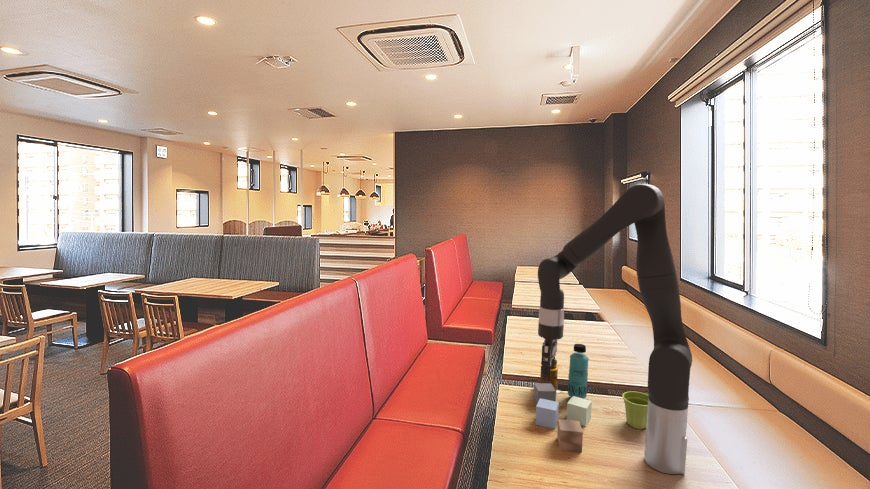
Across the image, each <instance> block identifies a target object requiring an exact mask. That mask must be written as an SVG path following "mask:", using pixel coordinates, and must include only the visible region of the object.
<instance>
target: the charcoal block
mask: <svg viewBox="0 0 870 489" xmlns="http://www.w3.org/2000/svg"><path fill="white" fill-rule="evenodd" d="M533 389H534V391H533V402H534V403H535V406H537V404H538V401H539V399H540V398H541V399H546V400H551V401H556V402H557V394H556V390H555V389H554V387H553V386H552V384H551V383H540V382H539V383H537V382H535V383H533Z"/></svg>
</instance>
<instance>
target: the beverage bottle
mask: <svg viewBox="0 0 870 489" xmlns="http://www.w3.org/2000/svg"><path fill="white" fill-rule="evenodd" d="M572 350H573V351H574V352H573V353H571V354H570V355H569V370H568V375H567V378H568V381H567V395H568V397H570V399H571V398H572V397H573V396H575V397H579V398H583V399H586V398H587V394H588V385H589V384H588V378H589V377H588V376H589V372H588V371H589V360H590V359H589V357H588V356H587V355H586V354H585V353H586V351H587V347H586V345H585V344H583V343H574V344H573V349H572Z"/></svg>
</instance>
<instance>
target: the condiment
mask: <svg viewBox="0 0 870 489" xmlns="http://www.w3.org/2000/svg"><path fill="white" fill-rule="evenodd" d="M545 361H547V362H548V358H545ZM558 368H559V367H558V360H557V359H556V358H555V367H554V368H551V371H550V377H549V378H547V377H543V365H540V375H539V376H540V378H539V379H540V381H539V383H551V384H552V386H553V387H554V389H555V390H556V391H561V390H559V389H558V376H559V375H558V370H559V369H558ZM530 390H532V391H533V392H534V388H531V389H530ZM562 392H563V391H561V392H556V395H558V394H560V393H562Z"/></svg>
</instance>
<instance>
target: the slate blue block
mask: <svg viewBox="0 0 870 489" xmlns="http://www.w3.org/2000/svg"><path fill="white" fill-rule="evenodd" d="M559 406H560V402H559V401H557V400H556V401H551V400H546V399H541V398H540V399H539V401H538V404H537V405H535V425H536V426H537V425H538V426H541V427H545V428H550V429H552V430H553V429H554V430H556V428H557V426H558V419H559V408H560V407H559Z"/></svg>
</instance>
